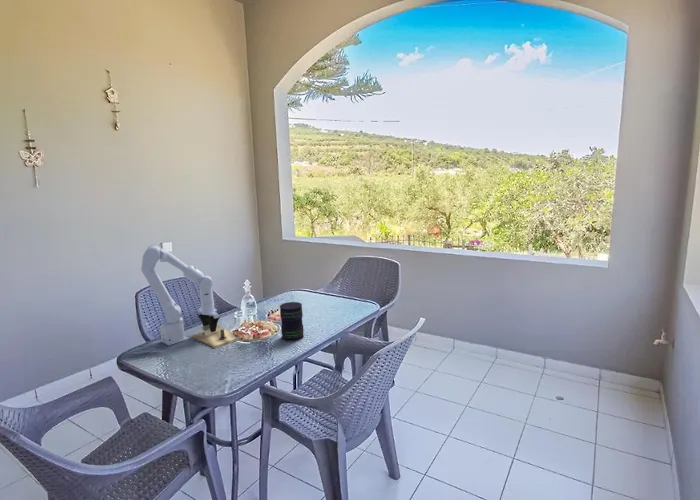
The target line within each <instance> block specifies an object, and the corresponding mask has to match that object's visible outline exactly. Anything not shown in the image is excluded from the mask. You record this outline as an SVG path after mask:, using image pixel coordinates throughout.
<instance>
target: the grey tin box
mask: <svg viewBox="0 0 700 500" xmlns="http://www.w3.org/2000/svg"><path fill="white" fill-rule="evenodd" d="M221 328H222V325H220V324H218V323H217V327H216V331H214V332H211V330H210V326H209V325H207V326H203V325H202V326H199V327H198V332H199V334H200V335H202V336H205V337H207V336H210V335H213V334H216V333H219V332H220V330H221Z"/></svg>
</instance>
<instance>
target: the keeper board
mask: <svg viewBox="0 0 700 500" xmlns="http://www.w3.org/2000/svg"><path fill="white" fill-rule="evenodd" d="M232 332H233V331H231V330H228V329H227V328H226V329H225V328H223V327H221V330H220V332H219V333H216V334H213V335H210V336H207V337H205V336H202V335H200V334H199V333H198V332H197V333H196V334H192V335H191V338H192V339H194V340H196V341H199V342H201V343H203V344H205V345H207V346H209V347H211V348H213V349H217V348H220V347H222V346H225V345H228V344H232V343H233V342H237V341H238V340H237V338H235V337H234V335H233V333H234V332H233V333H232Z"/></svg>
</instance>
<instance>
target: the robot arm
mask: <svg viewBox="0 0 700 500" xmlns="http://www.w3.org/2000/svg"><path fill="white" fill-rule="evenodd" d="M159 260H160V261H159ZM158 262H160V263H168V264H170V265H171V266H173V267H175V268H176V269H179V270H180V271H181V272H183V273H182V274H183V276H184V277H185V278H186V279H188V280H189V281H191V282H192V283H193V284H196V285H198V288H199V299H200V307H199V308H198V313H200V314H197V317H198V318H199V319H200V321H201V324H202V327H203V326H207V325H209V326H210V330H211V332H214V331H216V327H217V324H218V321H219V320H220V318H221V317H220V315H219V313H218V312H217V311H218V309H217V308H215V302H214V301H215V300H214V292H213V280H212V277H211V276H210V275H209V274H207V273H205V272H202V271H201V270H199V269H198V266H196V265H191V264H190V265H187V264H186V263H184V262H183V261H182V260H181V259H179V258H178V257H177V256H175V255H174V254H172V253H171V252H170V251H168V250H167V249H165V248H163V247H161V246H160V245H157V244H151V245H149V246H148V247H147V248H146V250H145V251H144V253H143V255H142V262H141V268H140V269H141V272H142V274H143V275H144V277H145V279H146V281H147V282H148V284H149V286H150V288H151V289H152V291H153V293H154V294H155V296H156V298H157V299H158V300H159V303H160V305H161V307H162V310H163V312H164V316H165V317H164V318H165V322H164V323H163V324H161V325H160V327H159V331H160V338H161V340H160V342H161V343H163V344H165V345H167V346H171V345H174V344H178V343H180V342H183V341H187V340H189V337H187V336H185V328H184V327H185V326H184V318H183V317H182V316H181V314H182V308H181V306H180V305H179V304H177V303H176V301H175V300H174V299H173V298H172V296H171V295H170V293H169V291H168V289H167V288H166V286H165V284H164V282H163V281H162V279H161V277H160V275H159V274H158V273H157V270H156V269H155V267H156V265H157V263H158Z"/></svg>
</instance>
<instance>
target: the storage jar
mask: <svg viewBox="0 0 700 500" xmlns="http://www.w3.org/2000/svg"><path fill="white" fill-rule="evenodd" d="M302 305H303V303H301V302H299V301H298V302H297V301H290V302H284V303H281V304H280V305H279V313H280V314H279V315H280V316H279V317H280V319H281V327H280V328H281V329H280V331H281V339H282V340H283V341H285V342H297V341H300V339H301V340H302V339H304V337H305V336H304V331H305V329H304V324H303V306H302Z"/></svg>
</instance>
